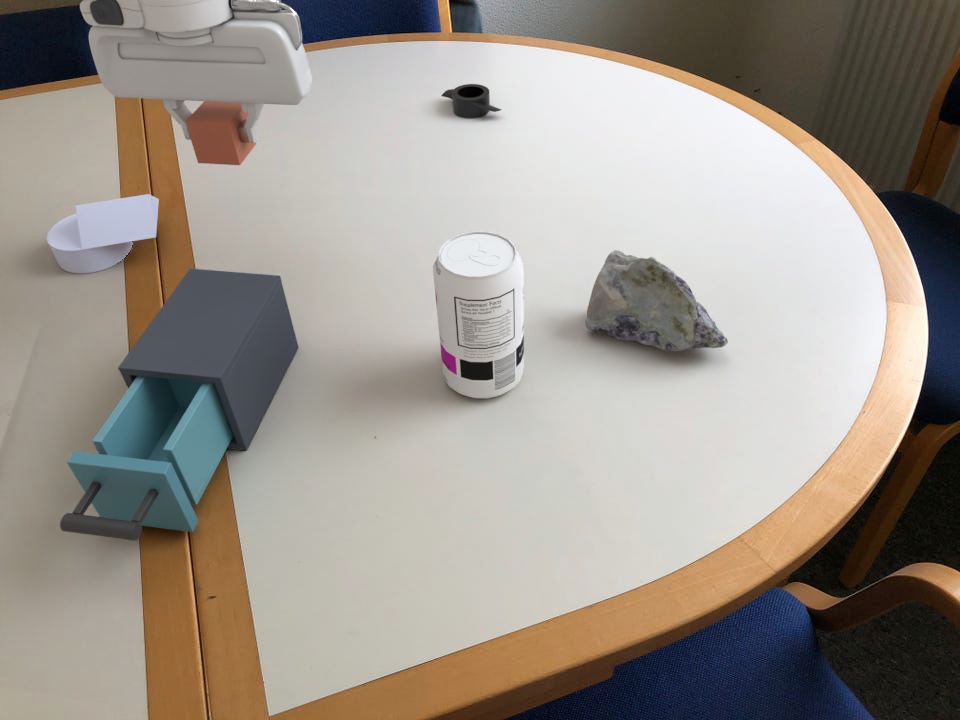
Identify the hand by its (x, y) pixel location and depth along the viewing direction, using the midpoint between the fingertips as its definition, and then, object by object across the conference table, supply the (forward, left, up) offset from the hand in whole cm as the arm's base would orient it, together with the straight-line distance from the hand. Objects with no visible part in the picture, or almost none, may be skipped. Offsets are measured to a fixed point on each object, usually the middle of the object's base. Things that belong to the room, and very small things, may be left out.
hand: (223, 139), depth 80 cm
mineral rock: (+40, -19, -19) cm, 48 cm away
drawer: (-8, -29, -18) cm, 35 cm away
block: (0, 0, -2) cm, 2 cm away
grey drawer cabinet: (-3, -17, -19) cm, 25 cm away
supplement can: (+22, -20, -19) cm, 35 cm away
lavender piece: (-19, +13, -19) cm, 30 cm away
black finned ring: (+32, +39, -19) cm, 54 cm away
